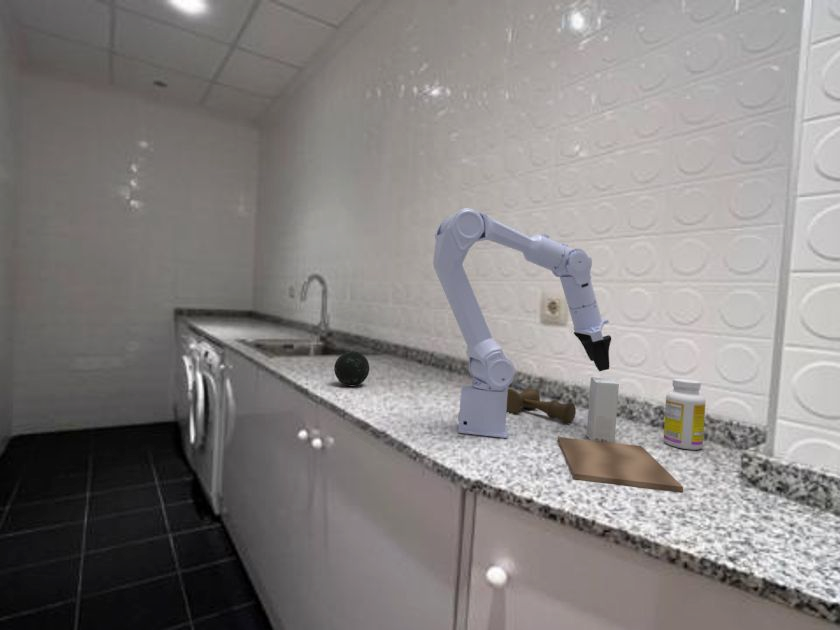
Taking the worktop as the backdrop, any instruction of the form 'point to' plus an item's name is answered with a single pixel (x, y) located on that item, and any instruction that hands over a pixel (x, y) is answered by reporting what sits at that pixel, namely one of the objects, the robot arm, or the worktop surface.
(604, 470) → the walnut board
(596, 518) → the worktop surface
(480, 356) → the robot arm
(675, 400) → the supplement bottle
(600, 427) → the skincare box
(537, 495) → the worktop surface
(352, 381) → the decorative stone
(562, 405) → the kendama
